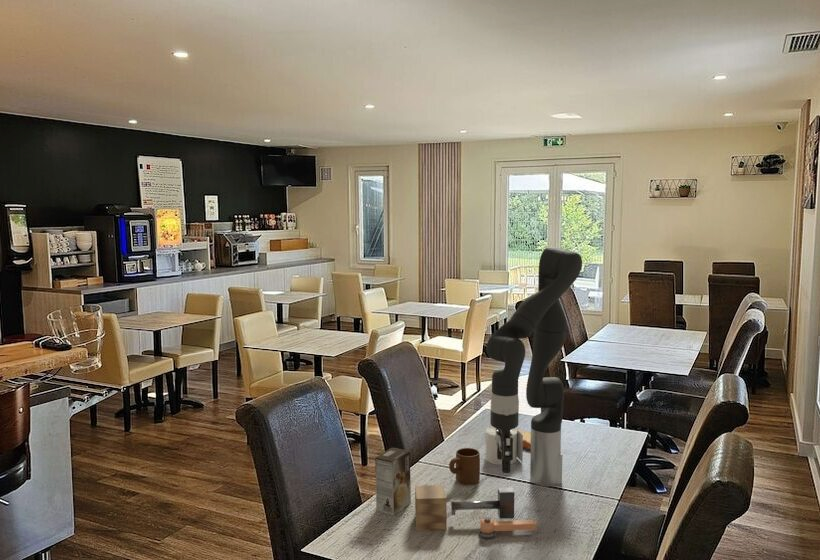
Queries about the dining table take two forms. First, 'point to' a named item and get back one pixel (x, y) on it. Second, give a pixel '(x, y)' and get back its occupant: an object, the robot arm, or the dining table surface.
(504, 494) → the dark grey hammer
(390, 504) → the coffee box
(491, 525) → the latch bar
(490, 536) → the dark grey puck
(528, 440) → the slice of bread
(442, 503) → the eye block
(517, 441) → the toilet tissue
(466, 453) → the mug
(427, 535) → the dining table surface
